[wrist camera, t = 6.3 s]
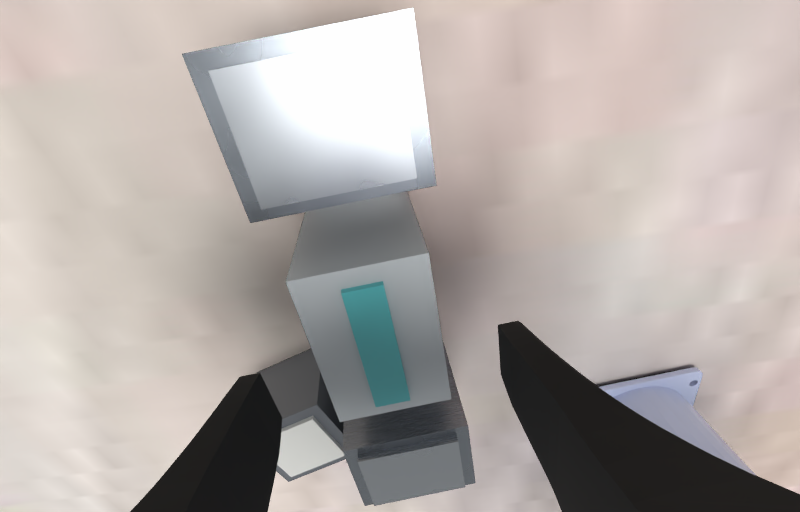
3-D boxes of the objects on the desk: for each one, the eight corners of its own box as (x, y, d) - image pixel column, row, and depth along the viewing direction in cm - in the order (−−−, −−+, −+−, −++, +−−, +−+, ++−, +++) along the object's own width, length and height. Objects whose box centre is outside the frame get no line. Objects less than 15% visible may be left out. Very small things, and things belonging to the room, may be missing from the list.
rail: (446, 379, 22) (477, 489, 17) (362, 396, 22) (364, 512, 17) (390, 20, 13) (415, 7, 8) (249, 48, 13) (175, 54, 8)
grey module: (426, 305, 18) (452, 403, 13) (343, 322, 18) (339, 427, 13) (405, 186, 15) (430, 256, 10) (306, 206, 15) (284, 286, 10)
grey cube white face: (359, 388, 22) (360, 457, 18) (298, 414, 23) (287, 485, 19) (323, 342, 20) (316, 408, 17) (257, 371, 21) (237, 441, 17)
